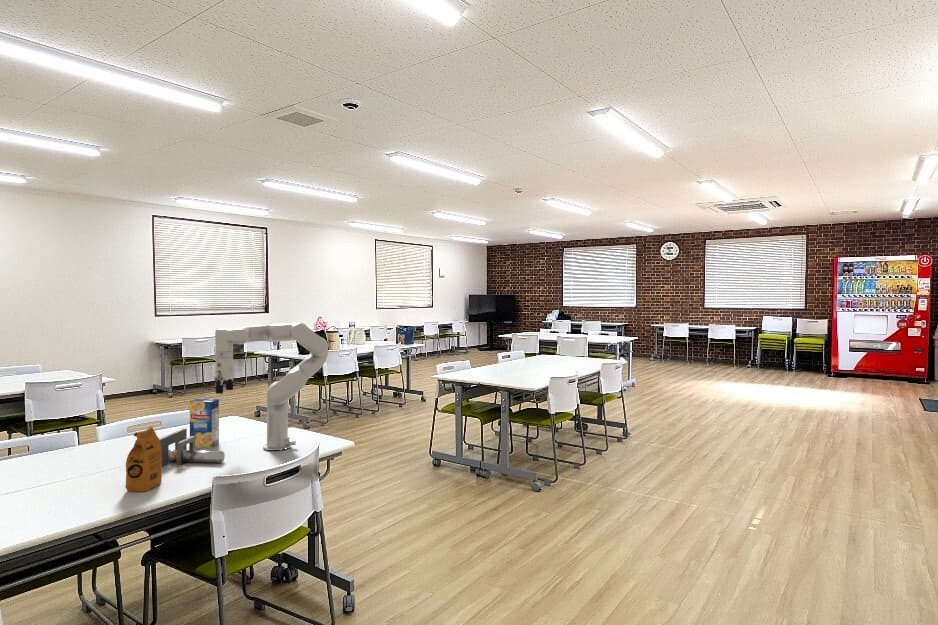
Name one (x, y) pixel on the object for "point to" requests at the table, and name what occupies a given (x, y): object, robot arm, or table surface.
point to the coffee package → (144, 462)
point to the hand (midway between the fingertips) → (224, 391)
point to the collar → (180, 448)
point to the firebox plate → (169, 440)
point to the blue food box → (204, 422)
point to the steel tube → (198, 456)
